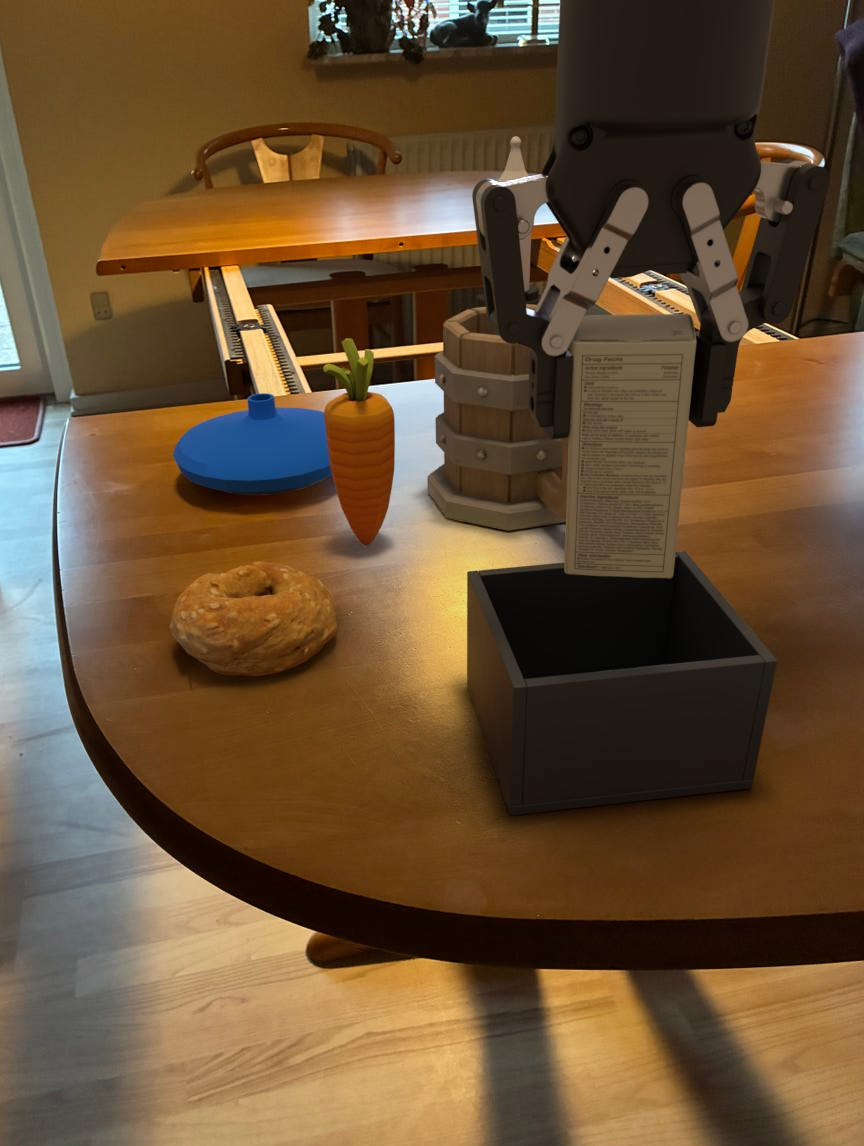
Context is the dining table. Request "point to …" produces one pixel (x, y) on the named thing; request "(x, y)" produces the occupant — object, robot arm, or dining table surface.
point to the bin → (613, 685)
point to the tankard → (493, 433)
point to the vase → (256, 449)
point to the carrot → (360, 445)
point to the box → (627, 443)
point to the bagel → (254, 619)
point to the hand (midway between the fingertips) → (627, 426)
